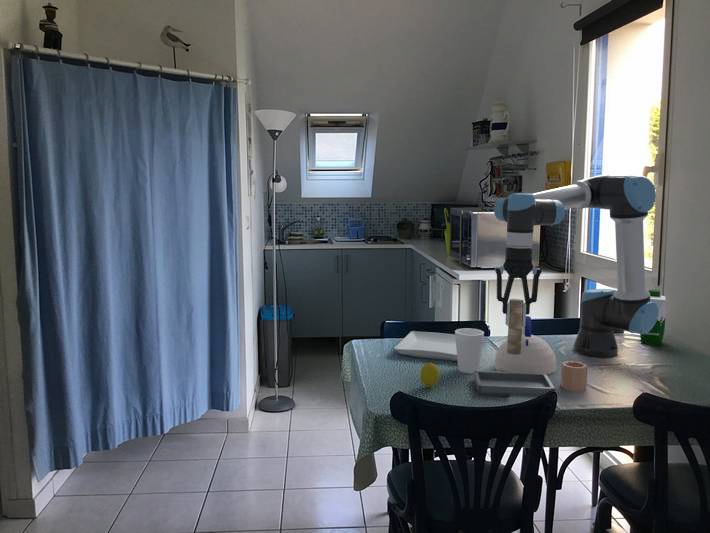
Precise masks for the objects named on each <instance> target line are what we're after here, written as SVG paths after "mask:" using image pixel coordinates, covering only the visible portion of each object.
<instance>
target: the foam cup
mask: <svg viewBox="0 0 710 533" xmlns="http://www.w3.org/2000/svg"><path fill="white" fill-rule="evenodd" d="M454 335H455V339H456V349H457V360H458V361H457V366H458V367H457V368H458V371H459V372H460V373H464V374H474V371H479V366H480V361H481V360H480V359H481V355H482V349H483V343H484V341H485V340H484V339H485V338H484V337H485V331H483V330H481V329H477V328H470V327H469V328H467V327H465V328H457V329H456V330H454Z"/></svg>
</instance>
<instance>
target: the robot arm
mask: <svg viewBox="0 0 710 533" xmlns="http://www.w3.org/2000/svg"><path fill="white" fill-rule="evenodd" d="M656 198H657V195H656V188H655V186H654V183H653V182H652V181H651V180H650V179H649V178H648V177H646V176H645V175H636V174H600V175H595V176H592V177H587V178H583V179H581V180H576V181H573V182H571V184H570V185H567V186H561V187H558V188H552V189H549V190H544V191H540V192H535V193H534V192H533V193H526V192H525V193H523V192H521V193H519V192H518V193H517V192H515V193H511V194H510V195H509V196H508V197H501V198H499V199H497V200H496V201H495V203H494V206H493V214H494V216H495V218H496V219H497V220H498V221H502V222H504V223H505V222H506V223H507V225H506V240H505V244H506V248H505V259H504V262H503V265H502V266H499V267H498V266H496V267H494V270H495V274H496V300H497V302H501V303H502V307H501V308H502V309H501V310H502V313H503V315H505V325H506V326H507V327H508V326H509V319H510V303H509V300H510V296H511V291H512V287H513V283H514V281H515V279H521V284H522V291H523V297H524V302H523V320H522V327H523V326H525V321H526V316H529V315H530V313H531V312H530V309H531V304H533V303H537V301H538V292H539V291H538V290H539V284H540V283H539V281H540V280H539V279H540V276H541V274H542V272H543V271H542V269H540V268H539V267H535V266H534V264H533V262H532V261H533V248H532V246H533V245H534V244H533V243H534V230H535V229H534V228H535V226H553V225H558V224H560V223H561V222H562V221H563V219H564V218H565V216H566V215H565V213H566V210H569V209H574V208H575V209H579V210H582V209H587V208H588V209H598V210H599V209H600V210H609V218H610V219H611V220H612V221H614V222H615V223H614V228H615V229H614V230H615V254H616V255H615V256H616V274H617V281H616V282H617V289H615V288H614V289H613V288H596V289H595V288H593V289H587V290H584V291H583V292H582V294H581V301H580V316H579V317H580V320H579V321H580V322H579V330H578V333H577V336H576V337H575V340H574V342H573V351H574V352H575V353H578V354H580V355H582V356H586V357H587V356H588V357H594V358H595V357H597V358H611V357H612V358H613V357H615V356H617V355H618V352H619V347H618V343H617V339H616V336H615V333H614V332H615V329H616V330H621V331H624V332H627V333H631V334H639V335H640V334H645V333H647V332H649V331H650V330H651V329H652V328H653V326H654V325H655V323H656V321H657V318H658V313H659V309H658V306H657V304H656V303H655V302H653V301H650V293H649V290H647V289H646V280H645V279H646V277H645V276H646V275H645V274H646V272H645V271H646V270H645V269H646V268H645V242H644V239H645V238H644V237H645V236H644V220H645V218H647V217H648V215H649V211H651V210H652V209H653V208H654V206H655V202H656V200H657V199H656ZM504 270H505V271H506V273H507V275H508V277H507V282H506V286H505V289H504V293H502V292H503V275H502V274H504ZM530 272H532V275H533V278H532V286H531V297H530V291H529V284H528V275H529V274H531V273H530Z"/></svg>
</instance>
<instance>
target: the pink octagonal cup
mask: <svg viewBox="0 0 710 533" xmlns="http://www.w3.org/2000/svg"><path fill="white" fill-rule="evenodd" d="M588 367H589V366H588V365H587V364H586V363H583V362H580V361H575V360H566V361H564V362H561V370H560V371H561V372H560V386H561V388H562V389H564V390H567V391H571V392H583V391H585V390H587V386H588V385H587V382H588Z"/></svg>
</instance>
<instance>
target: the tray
mask: <svg viewBox="0 0 710 533" xmlns="http://www.w3.org/2000/svg"><path fill="white" fill-rule="evenodd" d="M473 382H474V386H475V390H476V394H477V396H484V397H508V398H511V395H510V394H512V395H529V396H530V395H533V396H535V395H536V396H543V395H542V394H544V393H546V392H548V391H555V392H556V387H555V386H554V384H553V382H552V381H551V379H550V378H549V376H548V374H544V373H518V372H506V371H500V372H499V371H491V370H490V371H489V370H488V371H487V370H478V371H474V373H473Z"/></svg>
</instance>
